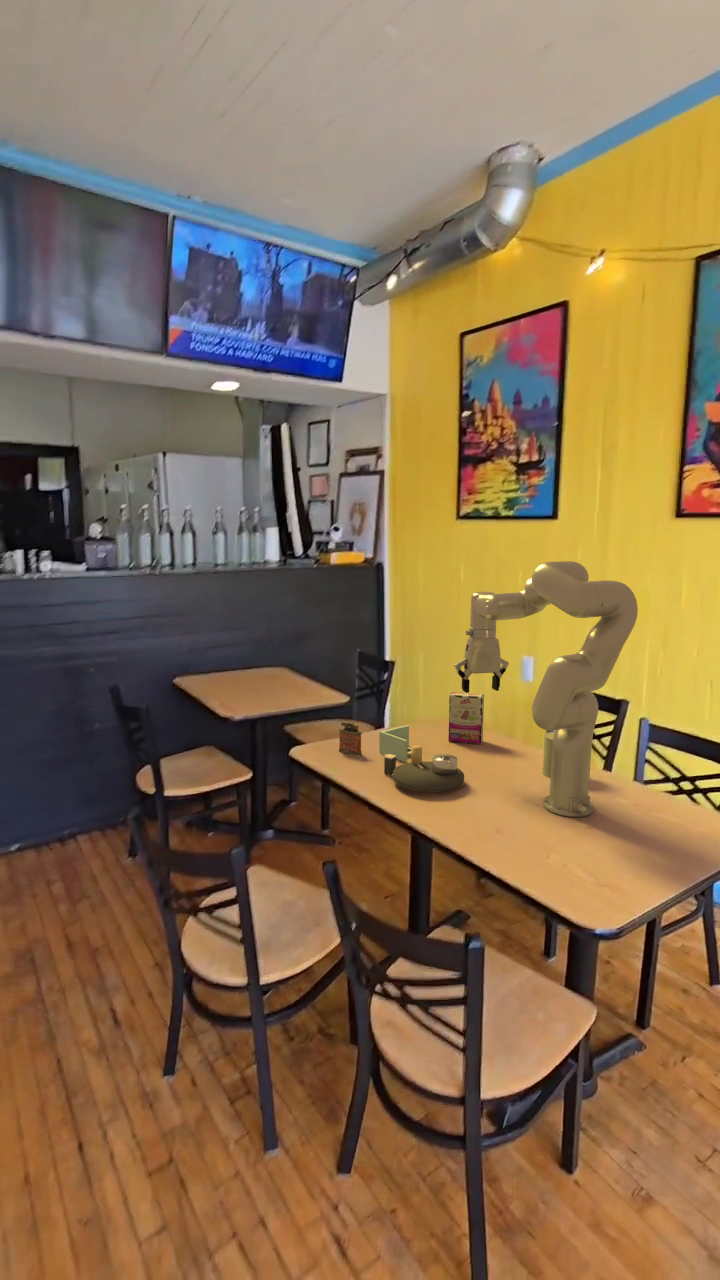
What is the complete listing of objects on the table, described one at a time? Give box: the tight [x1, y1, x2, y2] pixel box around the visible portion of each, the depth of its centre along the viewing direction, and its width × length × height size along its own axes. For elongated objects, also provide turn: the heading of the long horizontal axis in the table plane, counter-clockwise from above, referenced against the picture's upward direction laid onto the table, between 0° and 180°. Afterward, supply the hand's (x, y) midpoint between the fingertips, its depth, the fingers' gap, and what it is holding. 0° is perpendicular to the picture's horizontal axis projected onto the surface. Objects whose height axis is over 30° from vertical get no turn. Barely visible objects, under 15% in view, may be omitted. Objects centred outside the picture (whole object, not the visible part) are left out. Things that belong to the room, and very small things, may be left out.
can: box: [541, 731, 555, 779], centre depth 201 cm, size 9×9×12 cm
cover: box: [431, 753, 458, 776], centre depth 194 cm, size 7×7×4 cm
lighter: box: [338, 720, 363, 756], centre depth 218 cm, size 8×3×10 cm, turn 58°
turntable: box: [392, 745, 465, 793], centre depth 192 cm, size 20×20×6 cm
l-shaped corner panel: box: [378, 724, 412, 763], centre depth 218 cm, size 12×12×8 cm
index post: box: [383, 754, 397, 776], centre depth 200 cm, size 3×3×5 cm
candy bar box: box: [448, 691, 485, 745], centre depth 230 cm, size 11×5×16 cm, turn 73°
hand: (480, 690), depth 203 cm, fingers open, 9 cm apart
